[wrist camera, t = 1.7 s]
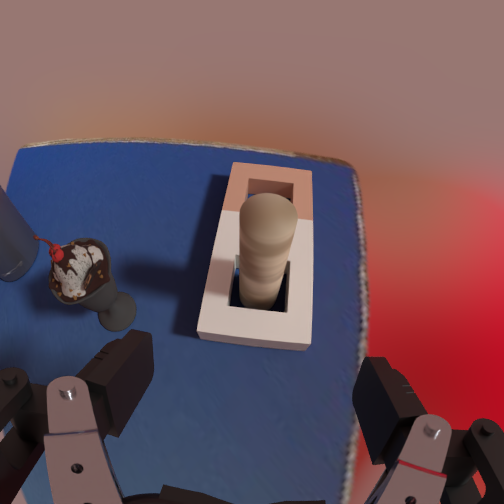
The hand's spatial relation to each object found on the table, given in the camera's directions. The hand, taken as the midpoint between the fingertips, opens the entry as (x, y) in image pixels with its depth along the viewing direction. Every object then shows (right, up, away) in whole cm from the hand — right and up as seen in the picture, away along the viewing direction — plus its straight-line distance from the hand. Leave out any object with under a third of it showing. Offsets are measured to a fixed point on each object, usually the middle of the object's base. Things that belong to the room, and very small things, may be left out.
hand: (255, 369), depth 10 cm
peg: (+1, 0, +23) cm, 23 cm away
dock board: (+1, +5, +26) cm, 26 cm away
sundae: (-16, -3, +21) cm, 26 cm away
